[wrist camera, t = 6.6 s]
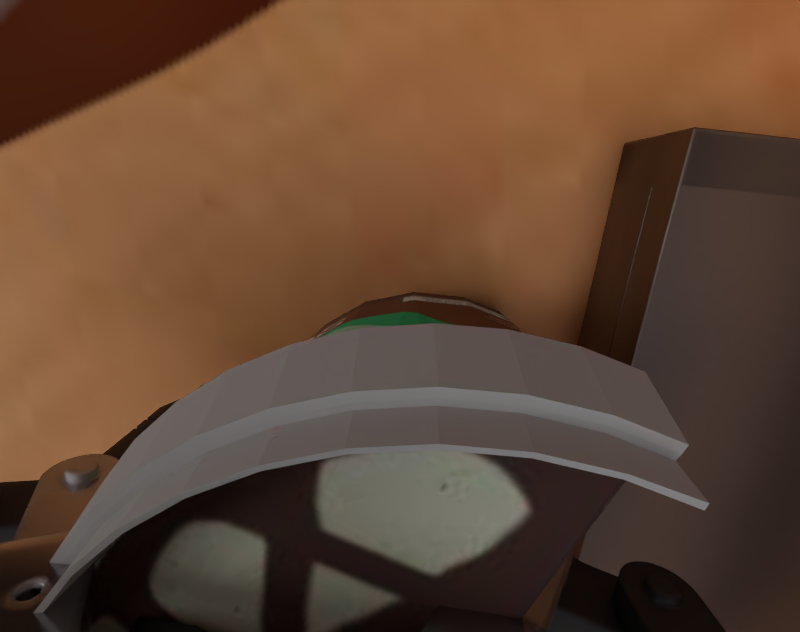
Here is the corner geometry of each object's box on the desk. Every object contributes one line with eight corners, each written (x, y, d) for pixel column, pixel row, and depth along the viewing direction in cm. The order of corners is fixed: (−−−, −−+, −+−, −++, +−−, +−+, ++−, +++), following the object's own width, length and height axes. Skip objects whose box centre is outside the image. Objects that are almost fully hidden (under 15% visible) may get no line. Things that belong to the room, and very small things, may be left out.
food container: (336, 172, 13) (101, 137, 4) (524, 268, 14) (748, 459, 4) (196, 495, 17) (-121, 920, 7) (351, 564, 17) (253, 1055, 7)
